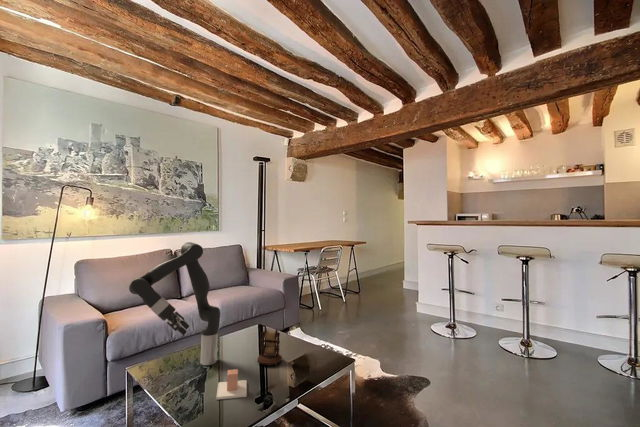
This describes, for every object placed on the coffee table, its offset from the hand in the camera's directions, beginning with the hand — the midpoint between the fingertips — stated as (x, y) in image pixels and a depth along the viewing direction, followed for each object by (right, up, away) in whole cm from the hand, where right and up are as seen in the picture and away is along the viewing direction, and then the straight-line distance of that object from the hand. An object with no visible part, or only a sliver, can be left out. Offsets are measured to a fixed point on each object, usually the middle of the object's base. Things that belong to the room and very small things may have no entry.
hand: (186, 330), depth 158 cm
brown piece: (+37, -31, +31) cm, 58 cm away
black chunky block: (+44, -31, -14) cm, 55 cm away
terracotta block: (+24, -28, -2) cm, 37 cm away
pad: (+24, -30, -2) cm, 38 cm away
